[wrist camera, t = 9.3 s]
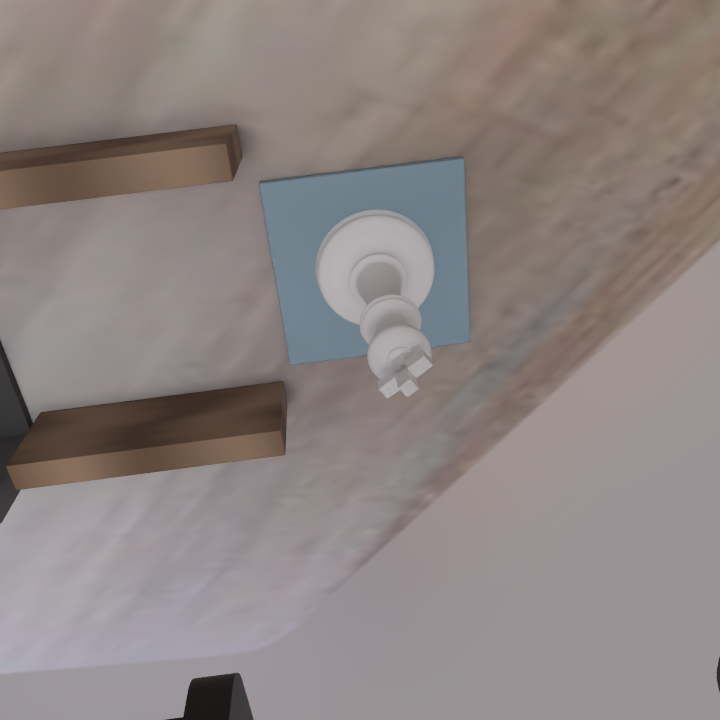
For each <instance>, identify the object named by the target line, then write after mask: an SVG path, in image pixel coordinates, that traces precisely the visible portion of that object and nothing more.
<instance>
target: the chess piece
mask: <svg viewBox="0 0 720 720" xmlns="http://www.w3.org/2000/svg"><path fill="white" fill-rule="evenodd" d="M315 273H316V280H317V283H318V287H319V289H320V291H321V293H322V295H323V297H324V299H325V301H326V302H327V304H328V305H329V306H330V307H331V309H332V310H333V311H334V312H335V313H337V314H338V315H339V316H341V317H342V318H344V319H345V320H347V321H350V322H352V323H355V324H358V325H359V327H360V332H361V335H362V337H363V338H364V340H365V341H366V342H367V343H368V344H369V347H368V352H367V360H368V364H369V367H370V369H371V371H372V372H373V373H374V374H375V375H376V376H377V377H378V378H379V379H381V380H379V381H378V382H377V384H378V389H379V390H380V391H381V392H382V393H383V394H384V396H385V397H386V398H387V399H388V398H389V397H391V396H392V395H394V394H395V393H396V392H398V391H399V390H401V391H402V392H403V394H404V395H405V396H406V397H409V396H410V395H411V394H413V393H414V392H416V391H417V390H418V389H419V386H418V383H417V380H416V378H418V377H419V376H420V375H422V374H423V373H424V372H425V371H426V370H428V369H429V368H431V367H432V366H433V364H432V361H431V346H430V343H429V341H428V339H427V337H426V336H425V335H424V334H423V333H422V332H421V331H420V329H421V323H422V320H421V314H420V311H419V309H418V308H419V307H420V305H421V304H422V303H423V302H424V300H425V299H426V297H427V295H428V293H429V291H430V289H431V286H432V283H433V279H434V257H433V251H432V248H431V245H430V243H429V240H428V238H427V237H426V235H425V234H424V232H423V231H422V230H421V228H420V227H419V226H418V225H417V224H415V223H414V222H413V221H412V220H410V219H409V218H407V217H405V216H403V215H401V214H399V213H396V212H393V211H388V210H380V209H374V210H365V211H361V212H358V213H355V214H352V215H350V216H348V217H346V218H344V219H343V220H341V221H340V222H338V223H337V224H336V225H335V226H334V227H333V228H332V229H331V230H330V231H329V232H328V233H327V235H326V236H325V238H324V239H323V241H322V243H321V245H320V247H319V250H318V253H317V257H316V264H315Z"/></svg>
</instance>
